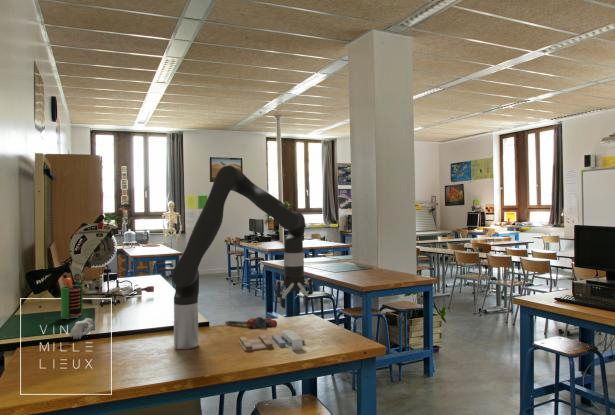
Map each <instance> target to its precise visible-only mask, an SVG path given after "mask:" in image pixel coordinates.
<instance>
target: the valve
mask: <svg viewBox="0 0 615 415" xmlns="http://www.w3.org/2000/svg"><path fill="white" fill-rule="evenodd" d="M224 323H225V325H242V326H243V325H245V326H247V327H249V329H251V328H252V329H253V330H262V329H268V328H269V329H270V328H271V329H272V328H277V327H278V321H277V320H275V319H272V318H270V317H267V318H266V317H265V318H263V317H261V316H258V317H255V318H253V317H252V318H249V319H247V321H245V320H244V321H241V320H239V321H238V320H228V321H227V320H225V322H224Z"/></svg>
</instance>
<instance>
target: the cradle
mask: <svg viewBox="0 0 615 415" xmlns="http://www.w3.org/2000/svg"><path fill="white" fill-rule="evenodd" d="M238 344H239V345H240V346H241V348H242V349H243V351H244V352H245V353H247V352H253V351H254V352H255V351H262V350H270V349H274V346H273V342H272V341H271V340H270V339H268V337H267V336H266V335H265V334H259V335H258V338H250V339H248V338H247V337H246V336H240V337H239V340H238Z"/></svg>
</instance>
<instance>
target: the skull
mask: <svg viewBox="0 0 615 415" xmlns="http://www.w3.org/2000/svg"><path fill="white" fill-rule="evenodd" d="M93 323H94V321H93V318H90V317H85V318H84V319H83V320H80V321H79V320H78V321H76V322H74V326H73V327H72V328H71V330H70V333H69V336H70V337H71V338H72V336H73V339H72V340H75V339H76V340H78V339H79V340H81V338H82V337H83V336H84V337H85V335H86V334H87V333H89V332H90V333H91V331H92V324H93Z"/></svg>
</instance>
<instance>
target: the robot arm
mask: <svg viewBox="0 0 615 415" xmlns="http://www.w3.org/2000/svg"><path fill="white" fill-rule="evenodd" d="M231 191H232V192H235V193H237V194H239V195H241V196H243V197H245V198H246V199H248V200H249V201H250V202H251V203H252V204H254V205H255V206H256V207H257V208H259V210H261V211H262V212H263V213H265V214H266V215H268V216H269V217H271V218H272V219H273V220H275V222H276V223H277V224H278V225H279V226H280V227H281V228H283V229H285V230H287V231H288V232H287V236H286V237H285V239H284V241H283V242H284V244H283V245H284V246H283V247H284V248H283V249H284V250H283V251H284V252H283V253H284V255H283V280H279V279H278V280H277V279H276V281H275V288H274V289H275V291H274V296H275V297H277V298H279V300H280V307H281V308H282V309H286V298H285V297H286V296H287V295H288V294H289V292H291V293H292V292H299V291H300V292H301V293H302V295H303V296H302V302H303V304H302V305H303V306H304V307H307V306H308V305H309V296H310V295H313V293H314V289H313V279H312V278H309V277H308V278H304V276H305V272H304V271H305V270H304V269H305V266H304V265H305V261H304V246H303V244H304V242H303V241H304V237H305V236H304V235H305V230H306V229H305V228H306V219H305V216H304V214H303V213H302V212H300V211H292V210H290V209H288V208H287V207H286V206H285V203H284V202H282V201H281V200H280V199H278V198H276V197H275V196H274V195H272V194H270V193H269V192H268V191H265V190H264V189H262V188H261V187H260V186H257V185H256V184H255V183H253V182H252V181H251V180H250V179H249V177H247V176H246V175H245V174H244V173H243V172H242V170H240V169H239V168H237V167H235V166H233V165H231V164H226V165H225V164H224V165H223V166H221V167H220V168H219V170H218V171H217V173H216V175H215V178H214V180H213V184H212V185H211V189H210V191H209V192H210V193H209V195H208V197H207V198H206V201H205V203H204V206H203V207H202V210H201V212H200V214H199V216H198V218H197V221H196V222H195V224H194V226H193V229H192V231H191V234H190V237H189V239H188V242H187V244H186V247H185V249H184V252H183V253H182V255H181V257H180V258H179V259H178V262H177V264H176V265H175V267H174V268H173V270H172V273H171V280H172V281H173V282H172V283H174V285H175V292H174V296H173V312H174V313H173V345H174V346H173V347H174V350H189V349H194V348H196V347H199V293H200V273H199V271H200V270H199V267H200V265H201V261H202V259H203V257H204V256H205V253H206V252H208V250H209V248H210V247H211V245H212V243H213V242H214V240H215V238H216V237H217V235H218V233H219V230H220V228H221V225H222V223H223V218H224V209H225V203H226V201H227V199H228V196H229V195H230V192H231ZM304 285H307V290H306V289H305V287H304ZM283 286H284V288H283V289H282V291H281V287H283Z"/></svg>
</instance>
